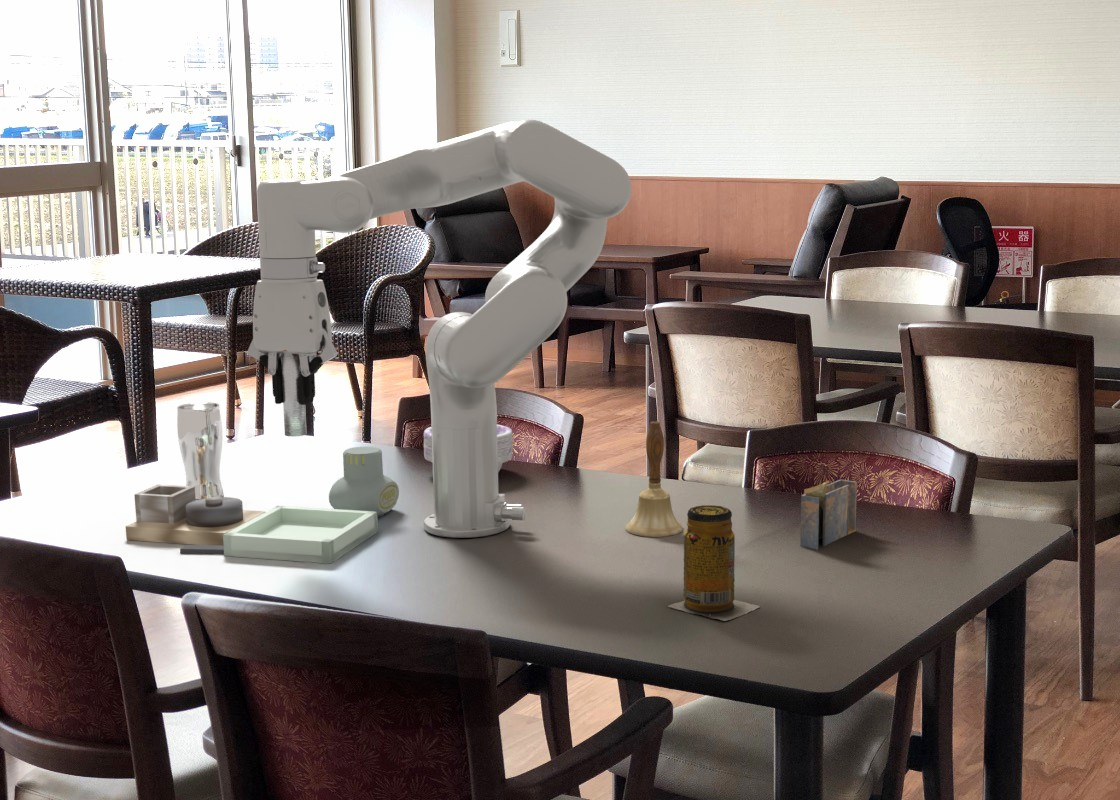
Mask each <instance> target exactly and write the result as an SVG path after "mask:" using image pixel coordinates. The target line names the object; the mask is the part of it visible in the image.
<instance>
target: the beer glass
mask: <svg viewBox="0 0 1120 800" xmlns="http://www.w3.org/2000/svg"><path fill="white" fill-rule="evenodd" d="M176 409H177V415H176V416H177V423H176V426H177V439H178V446H179V452H180V454H181V458H182V463H183V466H184V471H185V476H186V485H185V486H193V487H195V498H196V500H200V499H205V498H209V497H224V494H225V493H224V489H223V486H222V482H221V476H220V475H221V473H220V470H221V459H222V452H223V440H224V439H223V421H222V415H221V408H220V404H219V403H217V402H209V401H208V402H207V401H205V402H190V403H185V404H184V403H183V404H181V405H178V406H177V408H176Z"/></svg>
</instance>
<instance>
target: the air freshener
mask: <svg viewBox="0 0 1120 800" xmlns="http://www.w3.org/2000/svg"><path fill="white" fill-rule="evenodd" d="M342 458H343V465H342V466H343V476H342V477H340V478H338V479H337V480H336V481H335V482H334V483H333V484H332V485H331V487H330V491H329V493H328V500H329V505H330V506H331V507H332V509H341V510H358V511H374V512H377V518H378V517H382V516H384V515H385V514H387V513H388V512H390V511H391V510H392V509H394V507H395V506H396V504H397V502H398V499H399V496H400V488H399V485H398V484H397V482H396V481H395V480H393V479H392V478H391V477H389V476H387V475H385V474H384V468H383V467H384V466H383V451H382V450H381V448H380V447H376V446H355V447H350V448H347V449H345V450H344V451H343V453H342Z"/></svg>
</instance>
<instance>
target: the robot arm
mask: <svg viewBox="0 0 1120 800" xmlns="http://www.w3.org/2000/svg"><path fill="white" fill-rule="evenodd" d="M523 182H525V183H527V184H529V185H531V186H533V187H534V188H537V189H539V190H540V191H542V192H544V193H545V194H546V195H547V194H548V195H549V196H550V197H553V199H554V211H553V216H552V219H551V221H550V223H549V225H548V226H547V228H545V230H544V231H543V232H542V234H540V235H539V236H538V237H537V239H535V240H534V241H533V242H532V243H531V244H530V245H529V246H528V247H526V249H524V250H523V251H522V252H520V253H519V255H517V257H515V258H514V259H513V260H512V261H510V262H509V263H508V264H506V266H504V267H503V268H502V269H501V270H499V271H498V272H497V273H496V274H495V275H494V276H492V278H491V279H490V281H489V282H488V285H487V287H486V290H485V295H484V300H485V303H484V304H483V305H482V306H481V307H480V308H478V310H475V312H473V314H472V313H470V312H465V311H456V312H455V311H454V312H451V313H447V314H445V315H443V316H441V317H440V318H439V319H438V320H437V321H435V323H433V325H432V326H431V328H430V330H429V332H428V334H427V337H426V342H425V362H426V363H425V364H426V370H427V376H428V377H427V378H428V386H429V399H430V401H429V402H430V419H431V421H430V422H431V426H430V427H431V432H432V462H431V463H432V487H433V513H432V514H430V515H428V516H427V517H426V518H425V519H424V520H423V529H424V530H425V531H426V532H427V533H429V534H431V535H435V536H439V537H443V538H454V539H463V538H464V539H465V538H467V539H468V538H479V537H488V536H493V535H496V534H499V533H502V532H504V531H506V530H508V528H509V527H510V525H511V521H510V520H512V521H525V520H526V517H527V510H526V506H524V507H523V504H519V503H516V504H515V503H513V504H512V503H510V504H509V503H508V502H507V501H506V497H505V495H506V494H505V493H499V472H498V455H497V424H498V412H497V411H498V410H497V409H498V407H497V393H496V385H495V384H496V383H497V382H498V381H500V380H501V379H503V378H504V377H505V376H507V375H508V374H509V373H510V372H511V371H512V370H514V369H515V368H516V367H517V366H518V365H519V364H520V363H522V362H523V361H524V360H525V359H527V357H528V356H530V354H531V353H533V352H534V351H535V350H536V349H537V348H539V346H541V345H542V344H543V342H545V341H546V340H547V339H548V338H549V337H551V335H552V334H553V333H554V332H555V331H556V329H558V327H559V326H560V324H561V323H562V321H563V320H564V318H565V314H566V313H567V308H568V295H567V292H568V291H569V290H570V289H571V288H572V287H573V286H574V285H575V284H576V283H577V282H578V281H579V280H580V279H581V278H582V277H583V276H584V275H585V274H586V273H587V272H588V271H589V270H590V269H591V268H592V266H593V265H594V264H595V263H596V261H597V260H598V258H599V256H600V254H601V253H602V250H603V247H604V244H605V240H606V235H607V228H608V219H611V218H614V217H616V216H618V215H619V214H620V213H621V212H622V211H624V209H626V207H627V205H628V204H629V202H630V199H631V197H632V181H631V178H630V176H629V173H628V172H627V171H626V169H625V167H623V165H621V163H619V162H617V161H616V160H615V159H613V158H612V157H610V156H608V155H606V154H604V153H603V152H600V151H599V150H597V149H595V148H592V147H590V146H588V145H586V144H585V143H583V142H581V141H579V140H578V139H575V137H572V136H569V134H566V133H564V132H562V131H561V130H559V129H557V128H555V127H553V126H551V125H550V124H547V123H545V122H543V121H542V120H541V121H540V120H536V119H523V120H513V121H508V122H504V123H500V124H498V125H494V126H491V127H487V128H484V129H481V130H478V131H475V132H471V133H467V134H464V135H461V136H458V137H457V136H456V137H454V138H450V139H448V140H444V141H441V142H437V143H432V144H429V145H426V146H424V147H420V148H417V149H413V150H411V151H409V152H407V153H403V154H402V155H399V156H395V157H392V158H388V159H386V160H382V161H378V162H375V163H372V164H369V165H364V166H361V167H358V168H354V169H351V170H348V171H345V172H342V173H341V172H340V173H337V174H334V175H331V176H328V177H325V178H324V179H321V180H311V181H307V180H306V179H302V178H301V179H300V178H298V179H297V178H278V179H277V178H273V179H265V180H262V181H260V183H259V184H258V186H257V189H256V200H257V201H256V202H257V203H256V204H257V207H256V208H257V220H258V221H257V222H258V223H257V224H258V225H257V226H258V227H257V228H258V245H259V246H258V247H259V265H260V279H258V280H257V281H256V286H255V292H254V299H253V311H252V337H253V338H252V339H251V342H250V345H249V347H248V349H247V354H248V355H249V356H251V357H252V358H253V359H255V360H258V361H259V362H260V363H261V365H263V366H264V367H265V368H266V369H267V372H268V374H269V376H271V382H272V383H271V384H272V386H271V387H272V396H273V397H274V403H275V404H276V405H277V404H278V405H280V404H283V386H282V364H281V353H292V354H299V359H300V366H301V376H299V377H298V392H299V404H300V405H305V406H306V405H309V404H311V403H313V402H314V398H315V396H316V381H315V380H316V379H315V375H316V374H317V373H318V371H319V370H320V369H321V367H322V366H323V365H325V364H326V363H328V362H329V361H330V360H332V359H334V358H336V357H337V356H338V351H337V349H336V347H335V346H334V343H333V334H332V331H333V330H332V321H331V312H330V308H329V307H330V306H329V302H328V297H327V291H326V287H325V283H324V280H323V279H318V278H317V277H318V276H319V273H324V272H325V270H326V265H325V263H324V262H320V261H318V257H317V255H316V254H317V252H316V251H317V250H316V233H315V232H316V231H324V232H331V233H332V232H334V233H343V234H349V233H353V232H357V231H359V230H361V229H362V228H363V227H365V226H366V225H367V224H368V222H369V221H370V220H374V219H376V218H380V217H383V216H386V215H391V214H395V213H398V212H399V213H400V212H403V211H407V210H414V209H425V208H427V209H429V208H437V207H441V206H445V205H450V204H453V203H456V202H460V201H463V200H467V199H469V198H473V197H475V196H476V197H477V196H478V195H482V194H486V193H489V192H492V191H496V190H499V189H503V188H505V187H508V186H511V185H516V184H519V183H523ZM283 350H287V351H283ZM318 351H322V352H321V353H320V354H318V355H317V353H318Z"/></svg>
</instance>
